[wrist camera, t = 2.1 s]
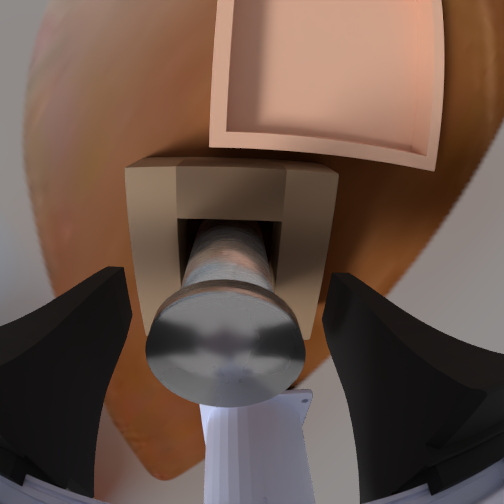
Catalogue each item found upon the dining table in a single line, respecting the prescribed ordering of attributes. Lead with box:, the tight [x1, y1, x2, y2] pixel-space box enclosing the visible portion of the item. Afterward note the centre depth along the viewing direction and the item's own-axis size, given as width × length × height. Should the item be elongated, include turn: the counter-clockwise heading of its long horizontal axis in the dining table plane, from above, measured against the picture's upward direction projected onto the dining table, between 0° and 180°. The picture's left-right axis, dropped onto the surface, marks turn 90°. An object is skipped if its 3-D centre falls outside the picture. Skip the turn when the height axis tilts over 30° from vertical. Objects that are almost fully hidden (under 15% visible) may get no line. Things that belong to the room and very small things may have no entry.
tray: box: [209, 0, 444, 171], centre depth 10 cm, size 10×10×2 cm
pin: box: [146, 219, 306, 408], centre depth 11 cm, size 4×4×8 cm
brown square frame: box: [125, 157, 339, 340], centre depth 13 cm, size 8×8×2 cm
